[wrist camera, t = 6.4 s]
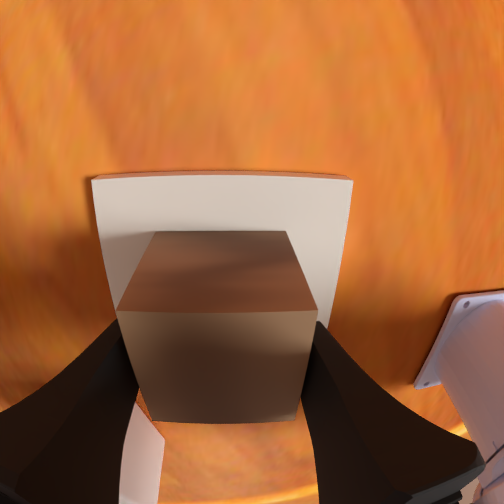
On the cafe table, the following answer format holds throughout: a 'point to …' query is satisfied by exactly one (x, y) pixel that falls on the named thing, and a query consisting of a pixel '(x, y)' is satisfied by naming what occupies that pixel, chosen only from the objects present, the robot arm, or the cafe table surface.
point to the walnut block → (219, 326)
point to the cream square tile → (225, 217)
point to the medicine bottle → (141, 461)
